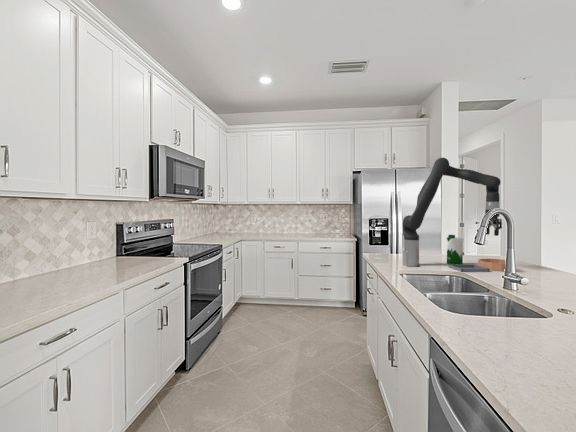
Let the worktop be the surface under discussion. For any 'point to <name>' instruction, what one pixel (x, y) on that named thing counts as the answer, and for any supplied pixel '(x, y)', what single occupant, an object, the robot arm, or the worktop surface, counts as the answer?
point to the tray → (469, 268)
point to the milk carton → (454, 250)
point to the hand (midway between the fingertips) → (491, 235)
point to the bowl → (492, 264)
